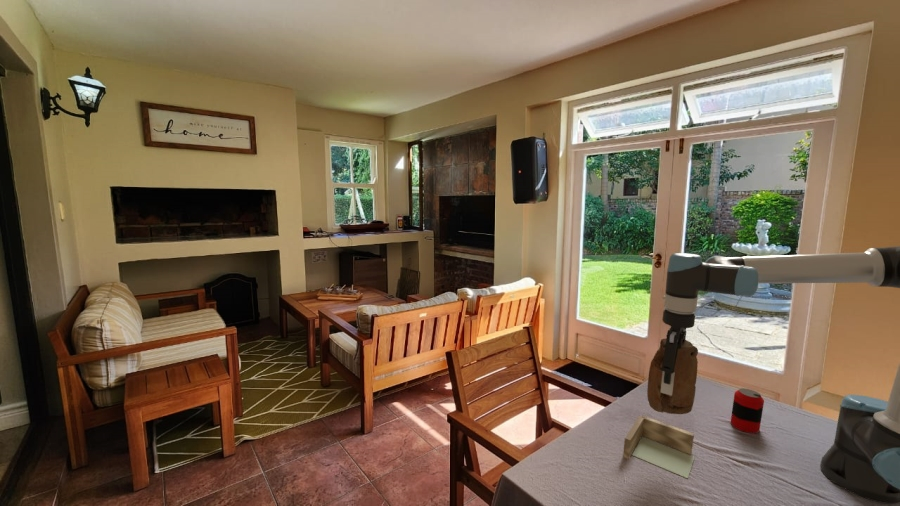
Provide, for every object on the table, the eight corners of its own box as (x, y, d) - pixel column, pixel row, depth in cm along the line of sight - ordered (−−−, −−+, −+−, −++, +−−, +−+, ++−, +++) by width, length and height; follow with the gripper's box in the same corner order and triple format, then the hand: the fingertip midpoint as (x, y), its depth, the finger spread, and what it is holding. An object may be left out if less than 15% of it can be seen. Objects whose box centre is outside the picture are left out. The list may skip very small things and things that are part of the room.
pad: (694, 457, 111) (694, 456, 111) (687, 478, 103) (687, 478, 103) (642, 437, 120) (642, 436, 120) (631, 455, 112) (632, 454, 111)
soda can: (755, 436, 121) (761, 401, 119) (727, 425, 126) (732, 391, 124) (762, 427, 125) (767, 393, 123) (734, 417, 131) (739, 384, 129)
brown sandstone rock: (678, 401, 113) (685, 336, 109) (695, 416, 105) (704, 347, 102) (642, 401, 112) (649, 336, 109) (657, 416, 105) (664, 347, 101)
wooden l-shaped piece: (691, 452, 113) (694, 433, 112) (681, 482, 101) (684, 461, 100) (638, 431, 123) (639, 414, 122) (623, 456, 111) (624, 438, 110)
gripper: (672, 298, 115) (665, 367, 119) (653, 317, 98) (645, 397, 101) (702, 303, 111) (693, 374, 114) (687, 324, 93) (677, 407, 96)
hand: (670, 385), depth 108 cm, fingers closed on brown sandstone rock, 11 cm apart
